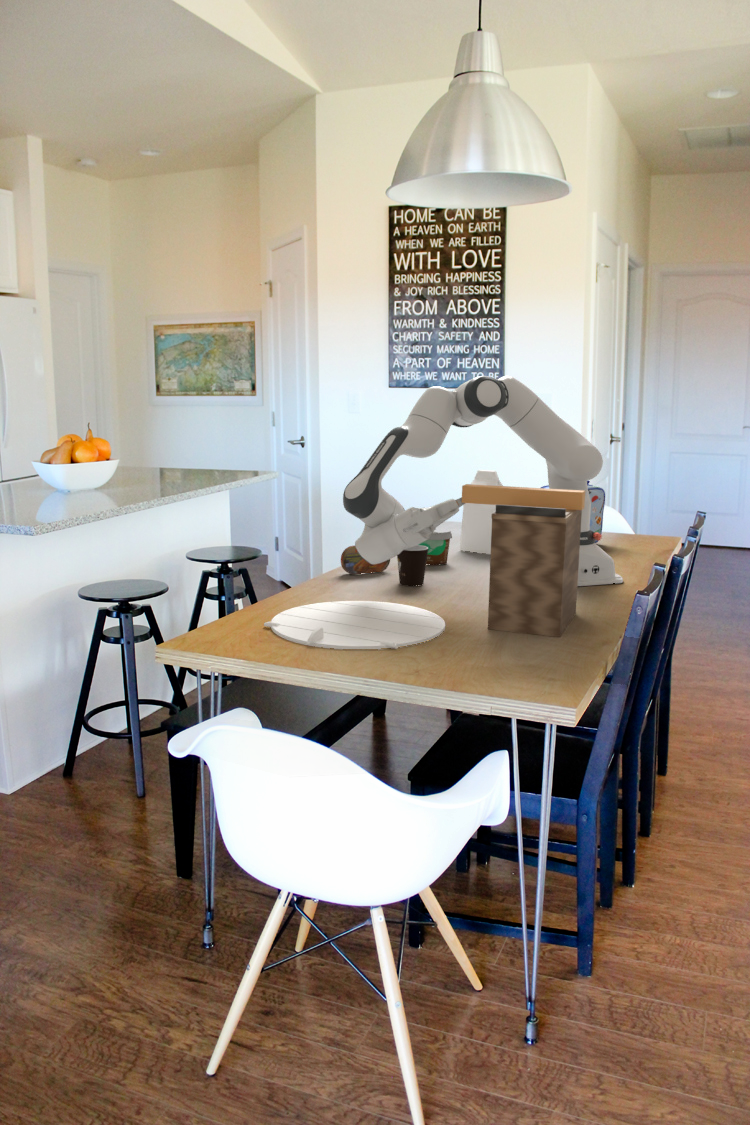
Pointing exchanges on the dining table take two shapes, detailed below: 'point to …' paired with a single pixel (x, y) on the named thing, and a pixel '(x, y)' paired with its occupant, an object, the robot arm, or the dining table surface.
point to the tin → (359, 563)
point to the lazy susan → (357, 625)
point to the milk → (478, 518)
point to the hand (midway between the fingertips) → (462, 500)
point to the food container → (437, 547)
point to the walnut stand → (533, 569)
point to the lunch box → (595, 507)
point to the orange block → (523, 496)
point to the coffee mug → (412, 565)
